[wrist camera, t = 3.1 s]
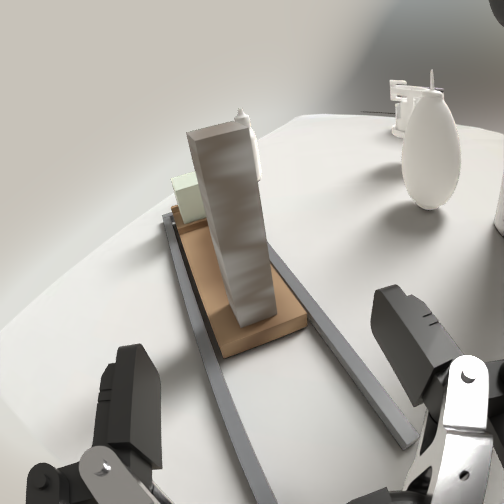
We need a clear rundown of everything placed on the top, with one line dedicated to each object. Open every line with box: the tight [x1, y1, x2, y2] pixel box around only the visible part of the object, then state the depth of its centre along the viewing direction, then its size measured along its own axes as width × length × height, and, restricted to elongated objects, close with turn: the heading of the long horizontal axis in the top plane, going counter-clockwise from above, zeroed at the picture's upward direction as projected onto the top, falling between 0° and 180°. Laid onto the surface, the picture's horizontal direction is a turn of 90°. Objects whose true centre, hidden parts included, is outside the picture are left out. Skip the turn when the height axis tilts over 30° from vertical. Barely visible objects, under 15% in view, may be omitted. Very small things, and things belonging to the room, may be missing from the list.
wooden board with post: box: [171, 121, 308, 358], centre depth 30 cm, size 7×25×16 cm, turn 20°
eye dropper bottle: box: [234, 108, 262, 181], centre depth 50 cm, size 4×6×12 cm
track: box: [162, 212, 420, 504], centre depth 29 cm, size 10×39×1 cm, turn 20°
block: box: [171, 171, 206, 224], centre depth 39 cm, size 5×5×5 cm
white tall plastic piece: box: [390, 80, 430, 140], centre depth 45 cm, size 7×7×15 cm
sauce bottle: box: [401, 70, 461, 210], centre depth 32 cm, size 8×8×18 cm
